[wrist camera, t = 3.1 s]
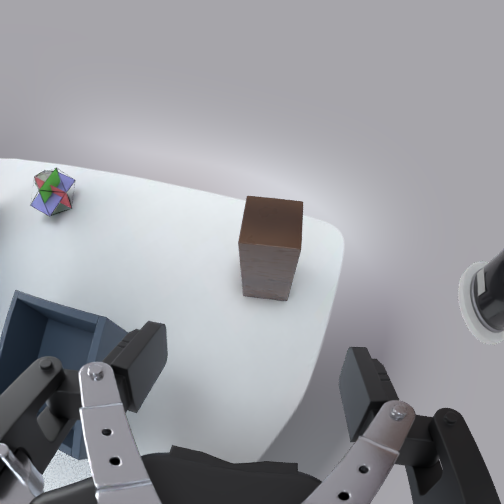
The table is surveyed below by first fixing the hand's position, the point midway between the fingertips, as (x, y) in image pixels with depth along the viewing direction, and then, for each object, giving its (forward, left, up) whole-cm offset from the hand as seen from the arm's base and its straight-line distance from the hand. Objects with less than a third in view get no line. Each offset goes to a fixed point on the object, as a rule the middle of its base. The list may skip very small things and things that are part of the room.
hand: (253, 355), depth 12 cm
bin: (+17, +9, -15) cm, 24 cm away
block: (+3, -10, -15) cm, 18 cm away
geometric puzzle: (+35, -9, -15) cm, 39 cm away
